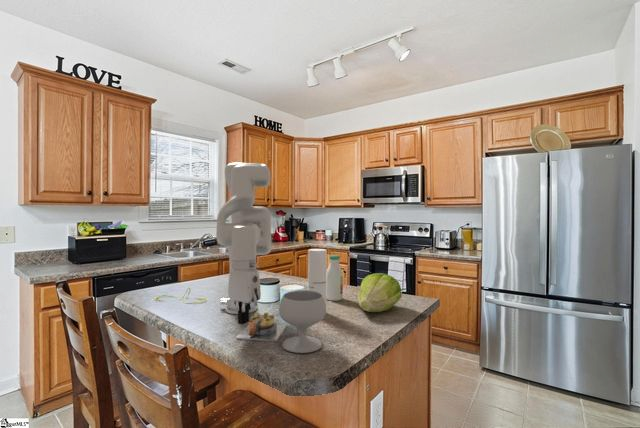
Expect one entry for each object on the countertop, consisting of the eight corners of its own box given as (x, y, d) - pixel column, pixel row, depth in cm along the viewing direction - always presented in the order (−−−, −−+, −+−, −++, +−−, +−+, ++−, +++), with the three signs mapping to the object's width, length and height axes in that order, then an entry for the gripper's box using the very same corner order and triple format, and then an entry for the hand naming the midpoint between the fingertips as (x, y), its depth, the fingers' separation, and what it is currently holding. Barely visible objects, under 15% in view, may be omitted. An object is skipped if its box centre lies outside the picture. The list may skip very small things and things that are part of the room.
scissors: (150, 301, 144) (150, 290, 144) (166, 295, 154) (166, 285, 154) (199, 305, 138) (199, 294, 138) (212, 299, 147) (212, 289, 147)
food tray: (256, 320, 110) (256, 308, 110) (277, 321, 109) (277, 310, 109) (238, 334, 97) (238, 321, 97) (262, 336, 95) (262, 323, 95)
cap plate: (235, 339, 100) (235, 332, 100) (250, 324, 113) (250, 318, 113) (276, 341, 98) (276, 334, 98) (286, 326, 111) (286, 320, 111)
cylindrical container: (324, 316, 122) (324, 251, 122) (306, 315, 124) (306, 250, 124) (327, 311, 129) (327, 249, 129) (310, 309, 131) (310, 248, 131)
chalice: (335, 348, 94) (335, 296, 94) (294, 360, 86) (294, 304, 86) (309, 333, 105) (309, 287, 105) (270, 343, 97) (270, 293, 97)
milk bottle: (337, 302, 143) (337, 257, 142) (322, 299, 147) (322, 255, 147) (345, 298, 149) (345, 255, 149) (331, 296, 153) (331, 254, 153)
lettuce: (342, 316, 126) (345, 281, 123) (366, 295, 146) (369, 265, 144) (383, 331, 117) (388, 294, 115) (403, 306, 138) (407, 275, 135)
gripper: (270, 265, 100) (269, 324, 100) (235, 260, 107) (235, 315, 108) (252, 269, 93) (252, 332, 94) (217, 264, 101) (217, 321, 102)
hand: (243, 322), depth 101 cm, fingers closed
